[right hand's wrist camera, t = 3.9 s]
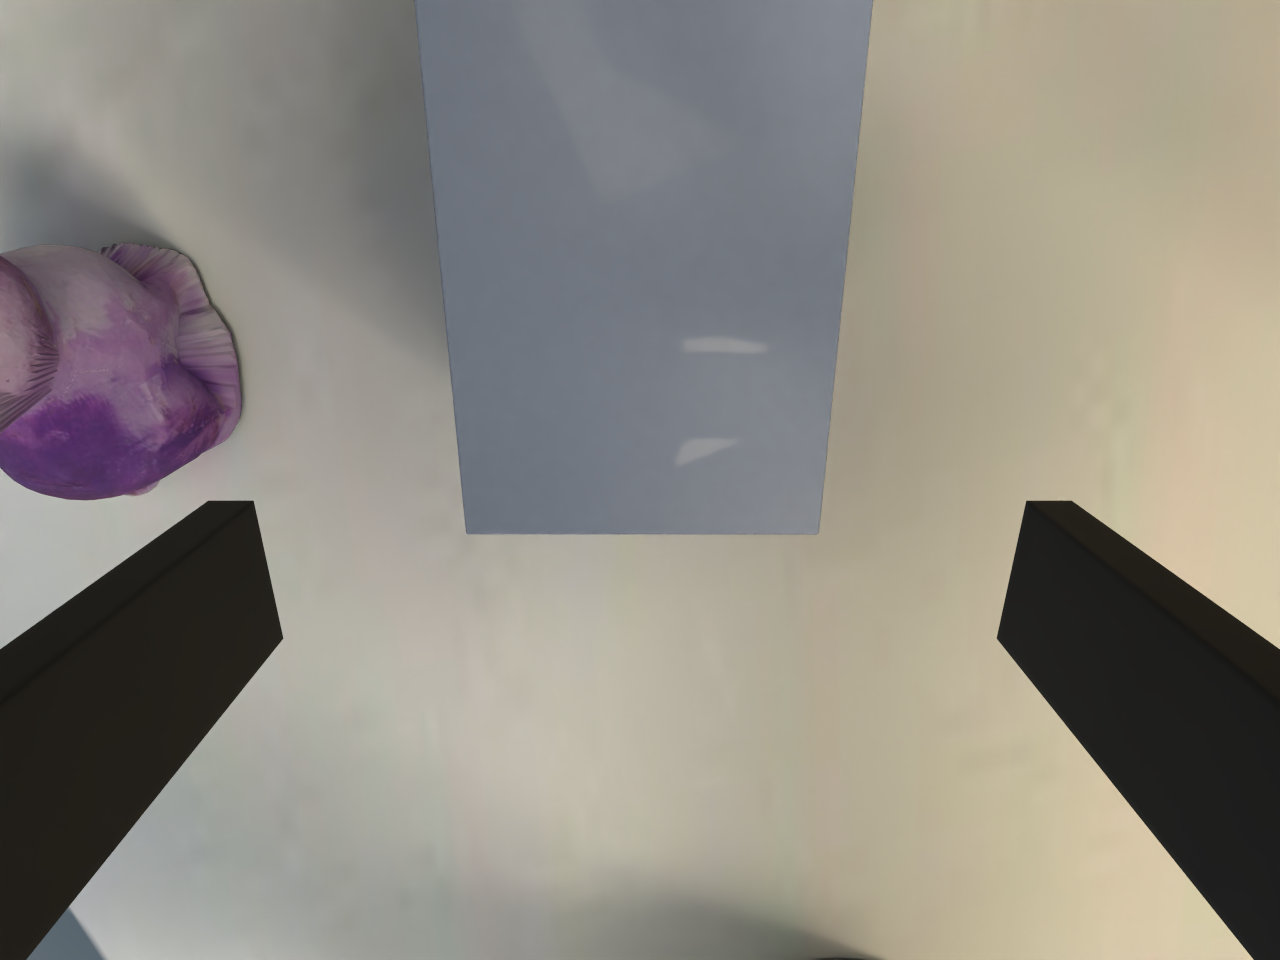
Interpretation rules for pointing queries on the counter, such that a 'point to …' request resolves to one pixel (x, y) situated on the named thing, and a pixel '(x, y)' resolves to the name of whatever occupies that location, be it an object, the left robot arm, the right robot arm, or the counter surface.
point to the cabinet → (643, 255)
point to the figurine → (109, 369)
